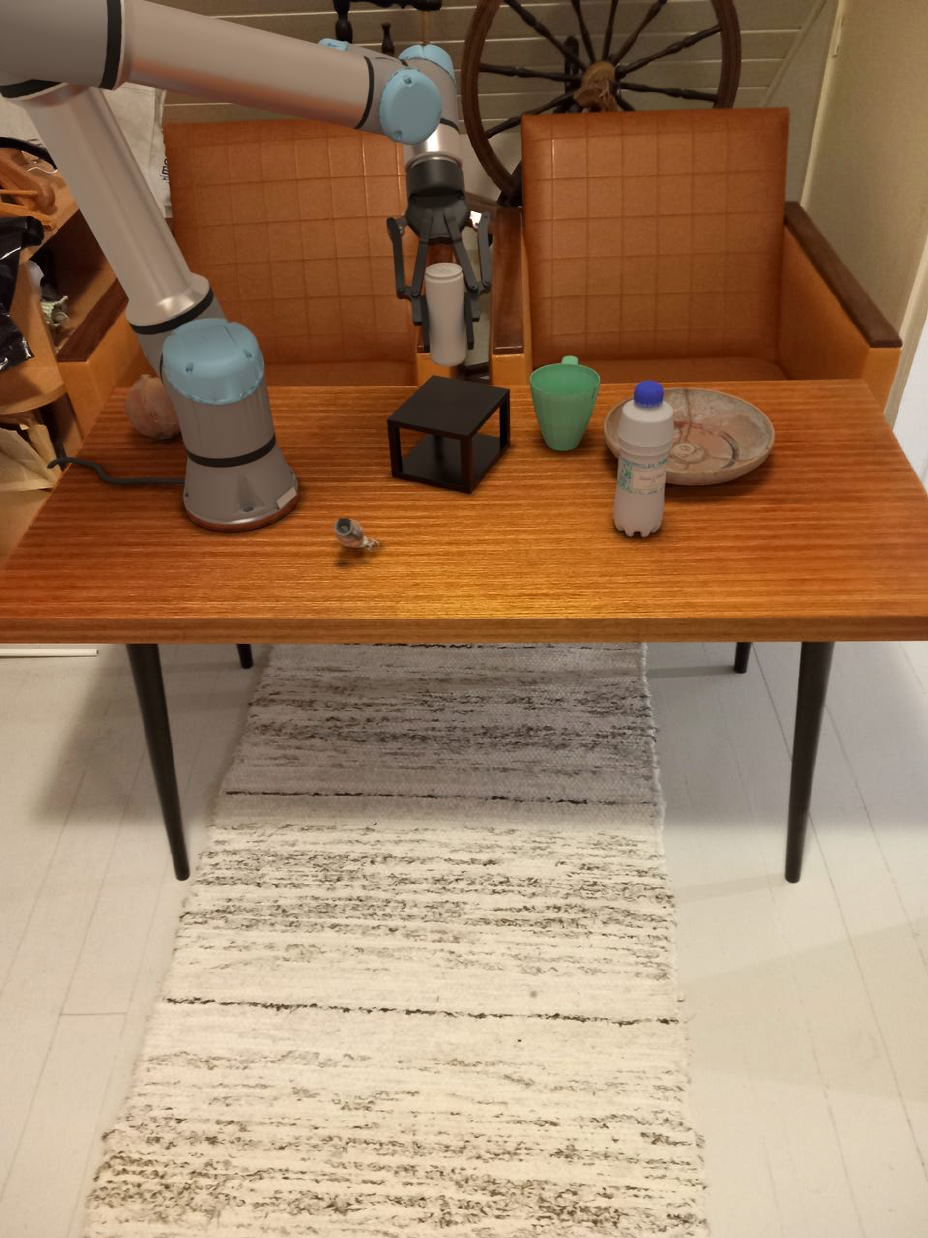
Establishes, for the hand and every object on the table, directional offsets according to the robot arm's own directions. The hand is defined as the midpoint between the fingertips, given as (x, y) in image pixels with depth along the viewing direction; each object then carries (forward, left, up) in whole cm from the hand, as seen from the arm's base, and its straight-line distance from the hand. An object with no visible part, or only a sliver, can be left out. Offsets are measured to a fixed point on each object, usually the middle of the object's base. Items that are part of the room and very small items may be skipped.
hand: (449, 347), depth 125 cm
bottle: (+27, -2, -19) cm, 33 cm away
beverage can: (-2, +3, -4) cm, 5 cm away
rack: (-2, +4, -19) cm, 19 cm away
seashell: (-4, -21, -19) cm, 29 cm away
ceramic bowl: (+28, +17, -19) cm, 38 cm away
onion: (-46, -5, -19) cm, 50 cm away
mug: (+10, +17, -19) cm, 27 cm away
